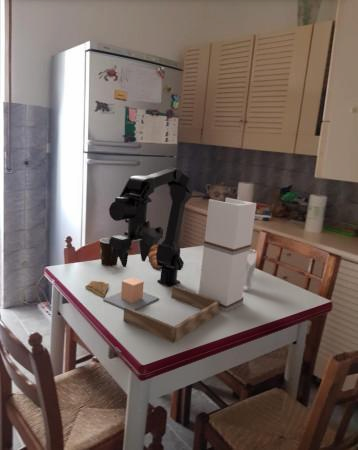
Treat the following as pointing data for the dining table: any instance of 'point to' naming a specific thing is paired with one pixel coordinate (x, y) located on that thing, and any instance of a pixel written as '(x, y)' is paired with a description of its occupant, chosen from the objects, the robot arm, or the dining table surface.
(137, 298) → the terracotta block
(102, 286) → the shard
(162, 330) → the walnut u-shaped frame
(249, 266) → the beer glass
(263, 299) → the dining table surface
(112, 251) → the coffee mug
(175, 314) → the dining table surface
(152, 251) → the pastry
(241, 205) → the banded white pillar
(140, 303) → the slate mat
